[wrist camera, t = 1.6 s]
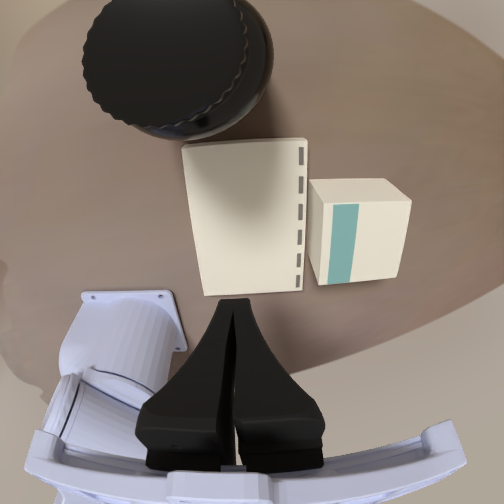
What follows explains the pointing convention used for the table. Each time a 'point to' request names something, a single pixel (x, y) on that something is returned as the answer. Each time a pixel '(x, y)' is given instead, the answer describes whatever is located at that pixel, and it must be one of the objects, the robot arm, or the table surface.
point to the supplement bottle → (178, 64)
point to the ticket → (248, 213)
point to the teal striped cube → (356, 229)
